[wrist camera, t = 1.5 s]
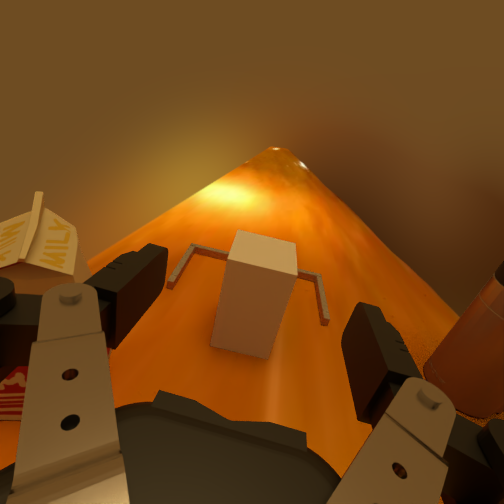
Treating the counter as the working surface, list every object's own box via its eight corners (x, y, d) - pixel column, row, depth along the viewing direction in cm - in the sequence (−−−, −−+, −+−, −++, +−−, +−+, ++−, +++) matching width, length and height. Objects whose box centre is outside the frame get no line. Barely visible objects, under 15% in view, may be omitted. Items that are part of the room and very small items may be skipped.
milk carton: (23, 350, 32) (-23, 177, 22) (113, 342, 35) (108, 189, 26) (-14, 434, 25) (-105, 231, 15) (105, 414, 28) (92, 238, 18)
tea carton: (270, 319, 45) (295, 243, 38) (267, 359, 38) (297, 275, 31) (221, 307, 45) (238, 229, 38) (209, 345, 38) (227, 258, 31)
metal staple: (318, 280, 58) (320, 274, 58) (326, 326, 47) (330, 319, 46) (190, 249, 58) (191, 243, 57) (166, 288, 46) (167, 280, 46)
